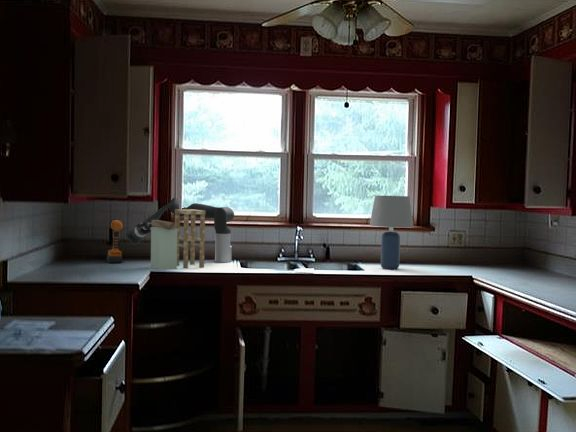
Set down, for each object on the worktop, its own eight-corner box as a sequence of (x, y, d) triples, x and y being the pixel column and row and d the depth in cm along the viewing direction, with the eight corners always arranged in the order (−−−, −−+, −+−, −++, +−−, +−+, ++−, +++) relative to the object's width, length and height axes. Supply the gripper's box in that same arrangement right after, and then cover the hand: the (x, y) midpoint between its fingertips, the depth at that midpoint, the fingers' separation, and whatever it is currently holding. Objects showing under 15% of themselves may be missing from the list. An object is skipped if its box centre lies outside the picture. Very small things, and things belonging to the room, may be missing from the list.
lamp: (416, 272, 330) (419, 196, 328) (372, 271, 328) (375, 195, 326) (405, 266, 355) (407, 196, 353) (364, 265, 354) (366, 195, 352)
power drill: (104, 259, 351) (105, 218, 349) (117, 259, 354) (118, 218, 352) (109, 264, 331) (110, 220, 330) (123, 263, 334) (123, 220, 333)
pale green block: (168, 265, 331) (168, 226, 330) (177, 268, 319) (178, 228, 318) (150, 266, 325) (150, 227, 324) (158, 269, 313) (159, 229, 312)
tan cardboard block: (157, 226, 336) (157, 219, 335) (174, 229, 312) (175, 223, 312) (151, 226, 334) (151, 220, 334) (168, 229, 310) (168, 223, 310)
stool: (193, 264, 340) (194, 209, 338) (204, 267, 326) (205, 210, 325) (173, 265, 333) (174, 209, 332) (184, 268, 320) (185, 210, 318)
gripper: (155, 234, 355) (165, 227, 342) (132, 236, 346) (142, 230, 333) (152, 222, 356) (163, 215, 343) (130, 224, 347) (140, 217, 335)
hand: (153, 222), depth 338 cm, fingers open, 8 cm apart
